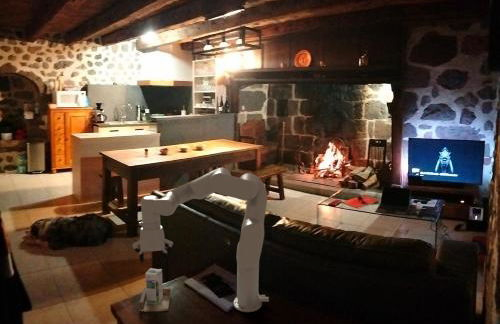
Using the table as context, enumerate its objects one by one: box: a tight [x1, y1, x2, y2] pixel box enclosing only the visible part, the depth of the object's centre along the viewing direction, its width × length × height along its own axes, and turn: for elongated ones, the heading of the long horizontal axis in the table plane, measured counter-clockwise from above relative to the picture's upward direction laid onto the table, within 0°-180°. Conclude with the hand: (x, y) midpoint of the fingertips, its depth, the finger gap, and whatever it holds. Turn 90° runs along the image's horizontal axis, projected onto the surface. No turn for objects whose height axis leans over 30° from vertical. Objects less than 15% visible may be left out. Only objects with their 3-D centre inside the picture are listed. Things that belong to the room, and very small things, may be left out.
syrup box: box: [145, 267, 163, 305], centre depth 180 cm, size 6×6×14 cm
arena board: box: [139, 286, 171, 313], centre depth 181 cm, size 12×12×4 cm
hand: (153, 261), depth 177 cm, fingers open, 9 cm apart
